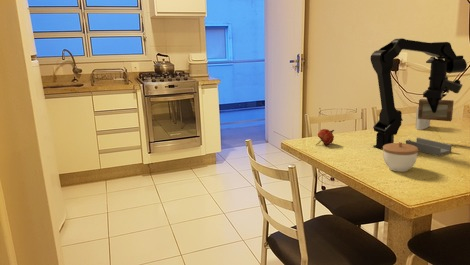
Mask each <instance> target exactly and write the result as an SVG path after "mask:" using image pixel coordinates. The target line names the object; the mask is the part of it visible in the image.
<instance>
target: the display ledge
mask: <svg viewBox="0 0 470 265" xmlns="http://www.w3.org/2000/svg"><path fill="white" fill-rule="evenodd" d="M405 144H410V145H414V146H416V147H417V148H418V152H421V153H426V154H429V155H434V156H436V157H437V156H438V157H439V156H444V155H446V154H450V153H452V149H453V148H452V144H448V143H445V142H441V141H436V140H431V139H427V138H421V137H416V141H415V140H409V139H406V140H405Z"/></svg>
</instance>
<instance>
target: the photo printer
mask: <svg viewBox="0 0 470 265" xmlns="http://www.w3.org/2000/svg"><path fill="white" fill-rule="evenodd" d="M418 109H419V105H418V106H417V107H416V113H415V129H416V130H419V131H422V130H426V129H427V128H429V127H430V126H431V120H427V119H418Z"/></svg>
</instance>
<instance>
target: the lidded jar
mask: <svg viewBox="0 0 470 265" xmlns="http://www.w3.org/2000/svg"><path fill="white" fill-rule="evenodd" d="M418 152H419V151H418V148H417V147H416V146H414V145H410V144H406V142H404V143H403V142H401V141H400V142H394V143H390V144H386V145H384V146H383V149H382V157H383V161H384V163H385V165H386V166H387V167H388V168H389V170H390V171H393V172H399V173H404V172H408V171H409V170H410V169H411V168H413V167H414V166H415V164H416V162H417V159H418Z"/></svg>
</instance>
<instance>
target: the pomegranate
mask: <svg viewBox="0 0 470 265" xmlns="http://www.w3.org/2000/svg"><path fill="white" fill-rule="evenodd" d="M334 131H335V129H332V130H330V129H326V128H322V129H320V130H319V131H318V133H317V137H318V138H319V139H320V140H319V141H318V142H317V143H316V144H315V146H318V145H319V144H320V143H321V142H322V144H325V145H326V146H330V145H331V144H333V142H334V139H335V138H334V137H335V136H334V134H333V132H334Z"/></svg>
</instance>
